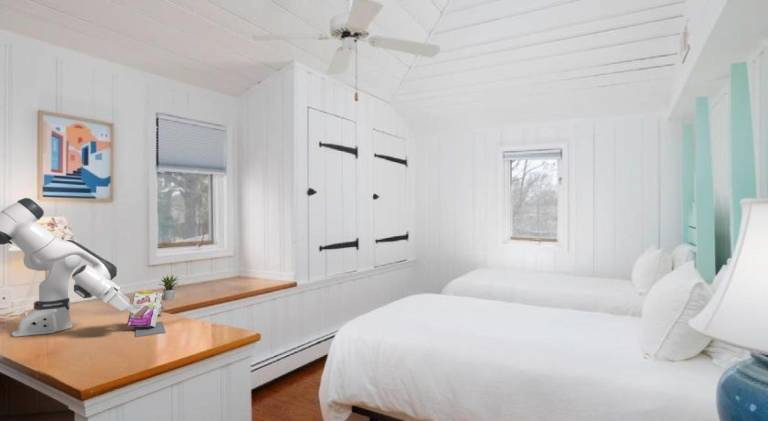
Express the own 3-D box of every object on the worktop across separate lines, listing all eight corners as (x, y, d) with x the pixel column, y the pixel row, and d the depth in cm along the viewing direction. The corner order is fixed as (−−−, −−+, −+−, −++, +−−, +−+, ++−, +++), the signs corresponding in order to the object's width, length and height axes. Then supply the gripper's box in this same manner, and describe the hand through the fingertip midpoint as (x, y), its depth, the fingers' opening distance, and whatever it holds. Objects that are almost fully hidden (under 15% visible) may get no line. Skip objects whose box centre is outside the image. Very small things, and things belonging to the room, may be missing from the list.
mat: (135, 337, 186) (135, 336, 186) (135, 325, 207) (135, 324, 207) (165, 332, 192) (165, 331, 192) (162, 322, 213) (162, 321, 213)
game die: (156, 324, 226) (154, 311, 220) (143, 318, 227) (140, 305, 222) (169, 312, 233) (167, 299, 227) (156, 306, 234) (153, 293, 229)
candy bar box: (125, 326, 196) (134, 290, 203) (131, 328, 200) (140, 293, 208) (150, 325, 195) (157, 290, 203) (155, 327, 200) (163, 293, 207)
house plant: (181, 300, 272) (180, 274, 273) (156, 302, 267) (156, 276, 267) (182, 296, 286) (182, 271, 286) (159, 298, 280) (158, 273, 281)
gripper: (105, 295, 200) (130, 313, 204) (102, 302, 182) (129, 321, 187) (116, 284, 202) (140, 302, 207) (114, 290, 184) (141, 310, 189)
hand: (135, 311), depth 197 cm, fingers closed
